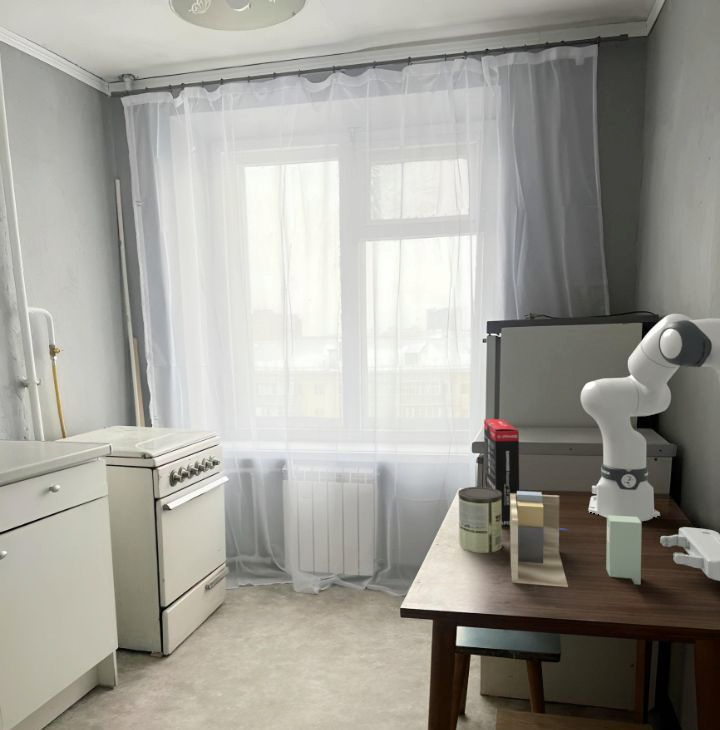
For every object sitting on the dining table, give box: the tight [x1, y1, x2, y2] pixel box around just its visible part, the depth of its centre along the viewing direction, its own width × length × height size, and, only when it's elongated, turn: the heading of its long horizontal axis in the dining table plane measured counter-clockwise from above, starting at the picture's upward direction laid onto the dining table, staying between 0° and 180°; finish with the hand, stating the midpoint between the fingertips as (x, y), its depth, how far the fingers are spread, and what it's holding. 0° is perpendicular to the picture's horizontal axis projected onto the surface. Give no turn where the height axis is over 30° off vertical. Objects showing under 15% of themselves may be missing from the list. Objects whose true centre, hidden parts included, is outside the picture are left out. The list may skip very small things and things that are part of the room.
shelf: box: [509, 493, 569, 588], centre depth 129 cm, size 20×11×14 cm, turn 167°
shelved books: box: [517, 490, 543, 527], centre depth 134 cm, size 7×6×14 cm
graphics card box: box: [483, 418, 520, 527], centre depth 162 cm, size 17×7×27 cm, turn 179°
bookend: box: [518, 526, 544, 563], centre depth 132 cm, size 4×6×8 cm
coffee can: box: [457, 486, 503, 554], centre depth 141 cm, size 10×10×14 cm
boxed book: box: [605, 515, 643, 585], centre depth 124 cm, size 4×6×13 cm, turn 77°
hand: (667, 549), depth 122 cm, fingers open, 8 cm apart
